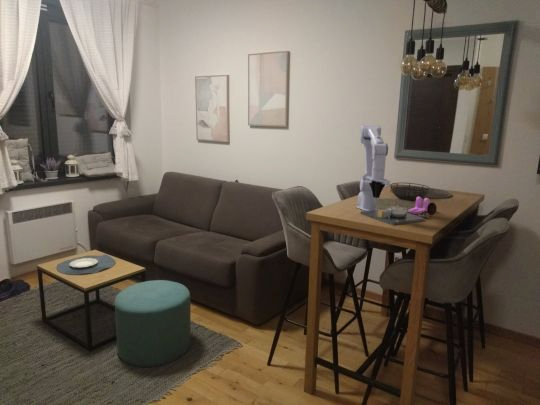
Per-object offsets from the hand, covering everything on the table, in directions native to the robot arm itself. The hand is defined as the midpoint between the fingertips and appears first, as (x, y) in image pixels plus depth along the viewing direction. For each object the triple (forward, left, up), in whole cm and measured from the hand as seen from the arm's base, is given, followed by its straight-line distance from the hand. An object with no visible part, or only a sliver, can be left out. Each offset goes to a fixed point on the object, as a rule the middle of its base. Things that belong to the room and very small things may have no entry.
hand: (376, 197), depth 196 cm
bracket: (0, +28, -10) cm, 30 cm away
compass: (+11, +23, -10) cm, 27 cm away
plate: (+4, +7, -9) cm, 12 cm away
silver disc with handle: (+6, +5, -8) cm, 11 cm away
